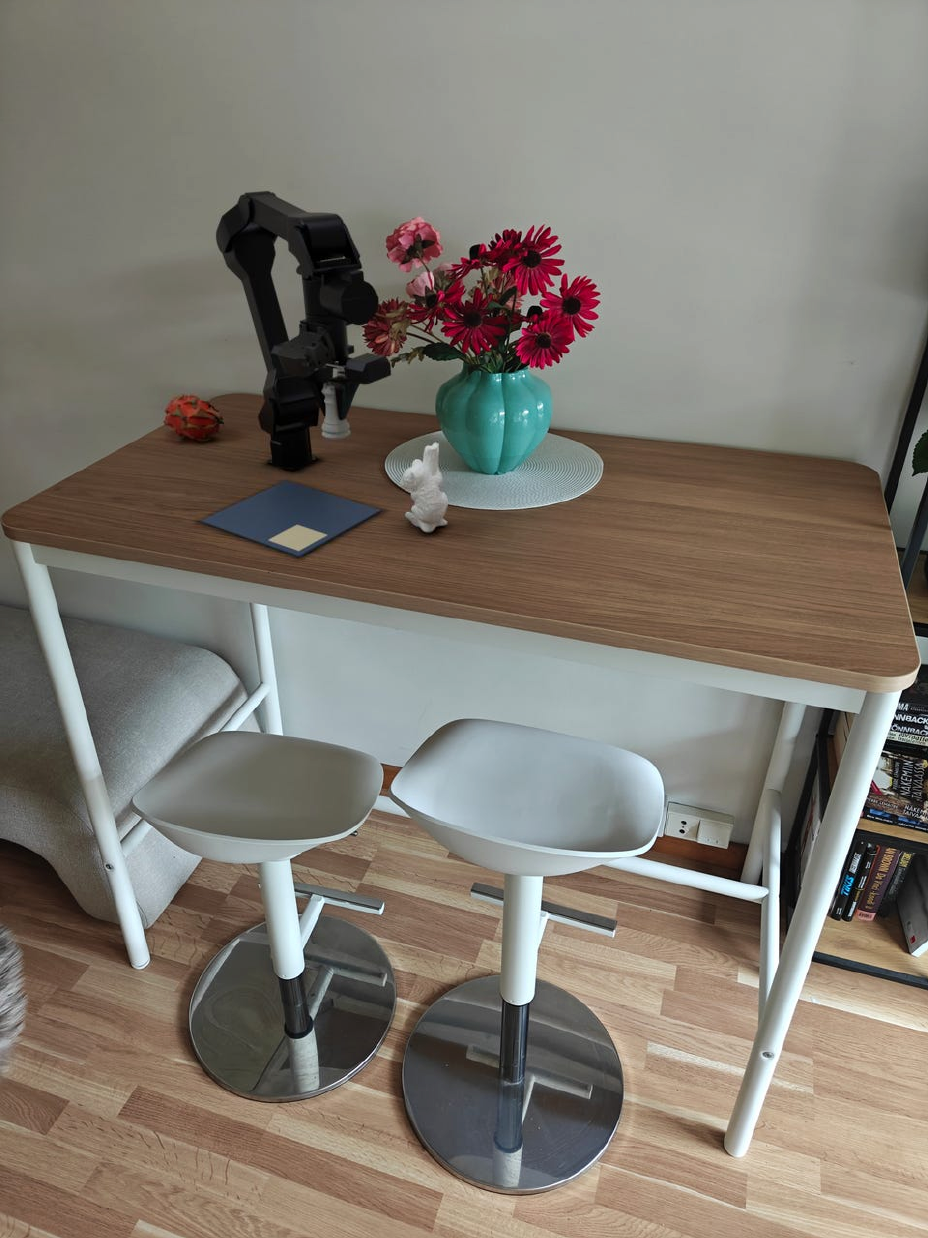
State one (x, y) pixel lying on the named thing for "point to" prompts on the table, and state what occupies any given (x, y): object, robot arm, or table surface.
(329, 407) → the rook chess piece
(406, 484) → the white bunny statuette
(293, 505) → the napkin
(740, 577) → the table surface
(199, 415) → the dragon fruit
